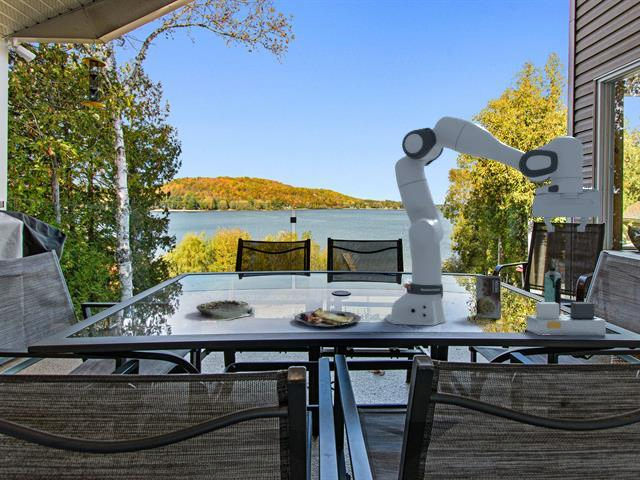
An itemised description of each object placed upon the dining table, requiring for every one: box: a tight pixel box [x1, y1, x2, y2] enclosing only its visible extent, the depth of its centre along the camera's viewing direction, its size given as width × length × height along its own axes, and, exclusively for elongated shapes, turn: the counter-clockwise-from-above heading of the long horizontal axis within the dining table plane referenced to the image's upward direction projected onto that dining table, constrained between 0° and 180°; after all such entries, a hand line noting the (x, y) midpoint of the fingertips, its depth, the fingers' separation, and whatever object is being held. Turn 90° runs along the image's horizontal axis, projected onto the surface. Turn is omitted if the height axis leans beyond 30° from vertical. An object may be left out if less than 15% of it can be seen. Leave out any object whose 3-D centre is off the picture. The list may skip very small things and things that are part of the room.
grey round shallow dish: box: [195, 299, 255, 322], centre depth 177 cm, size 28×27×5 cm
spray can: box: [544, 267, 562, 315], centre depth 161 cm, size 6×6×20 cm
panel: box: [535, 301, 559, 319], centre depth 142 cm, size 6×3×9 cm, turn 89°
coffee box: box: [475, 274, 502, 320], centre depth 167 cm, size 9×6×16 cm
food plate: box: [293, 307, 362, 328], centre depth 161 cm, size 25×23×4 cm
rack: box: [525, 301, 607, 336], centre depth 142 cm, size 22×8×10 cm, turn 89°
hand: (565, 231), depth 134 cm, fingers open, 8 cm apart
